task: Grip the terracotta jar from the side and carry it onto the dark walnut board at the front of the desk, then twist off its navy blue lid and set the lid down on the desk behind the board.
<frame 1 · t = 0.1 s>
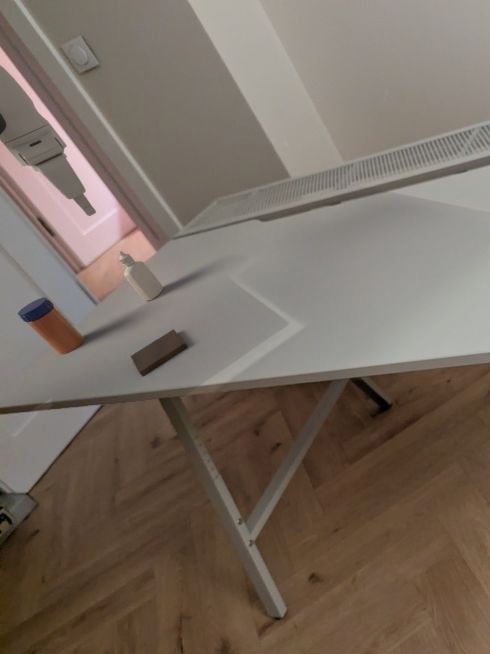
hand: (89, 211, 114), 22 cm above the table, tool pointing down, fingers open, 8 cm apart
board: (160, 353, 102), on the table
eye dropper bottle: (155, 295, 127), on the table
jar: (72, 345, 119), on the table
lid: (34, 307, 113), point 11 cm above the table, screwed on, not yet turned
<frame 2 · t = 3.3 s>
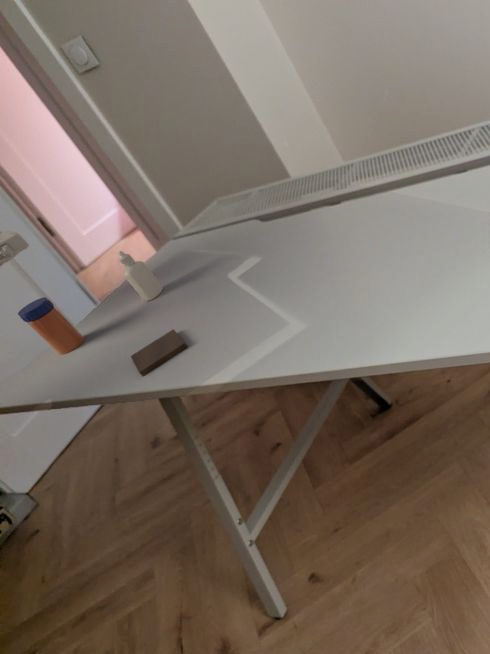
nothing on the table moved.
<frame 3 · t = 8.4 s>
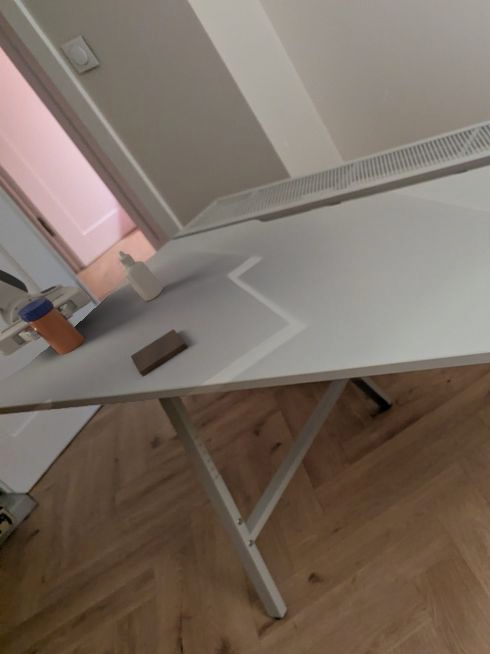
hand: (52, 325, 115), 6 cm above the table, tool horizontal, fingers closed on jar, 6 cm apart
jar: (72, 345, 119), on the table, touching gripper
everything else where it was.
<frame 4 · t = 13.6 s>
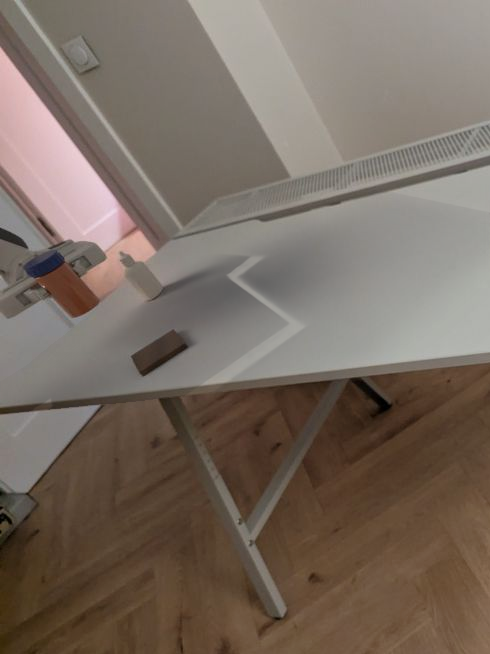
hand: (63, 282, 98), 17 cm above the table, tool horizontal, fingers closed on jar, 6 cm apart
jar: (85, 308, 102), point 11 cm above the table, touching gripper
lid: (41, 261, 96), point 21 cm above the table, screwed on, not yet turned
everything else where it was.
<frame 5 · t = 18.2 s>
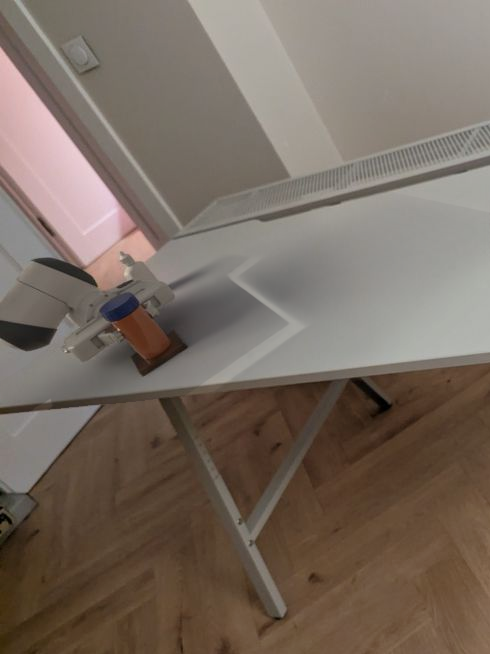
hand: (137, 325, 97), 7 cm above the table, tool horizontal, fingers closed on jar, 6 cm apart
jar: (156, 349, 102), point 1 cm above the table, touching board, gripper
lid: (117, 304, 95), point 12 cm above the table, screwed on, not yet turned
everything else where it was.
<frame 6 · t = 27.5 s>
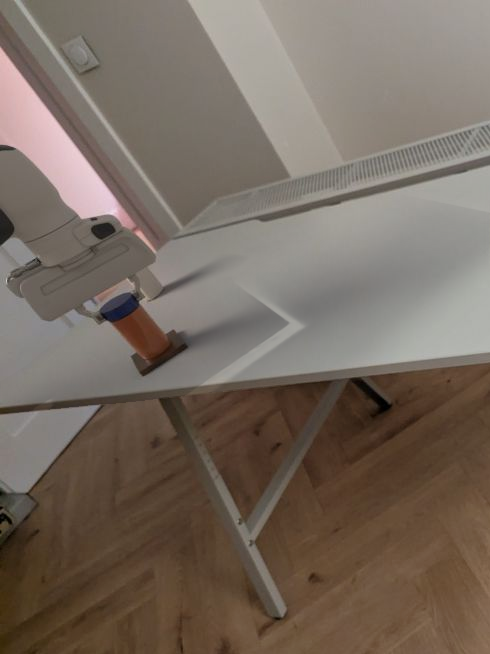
hand: (122, 310, 96), 10 cm above the table, tool pointing down, fingers closed on lid, 6 cm apart
jar: (156, 349, 102), point 1 cm above the table, touching board
lid: (117, 304, 95), point 12 cm above the table, screwed on, not yet turned, touching gripper
everything else where it was.
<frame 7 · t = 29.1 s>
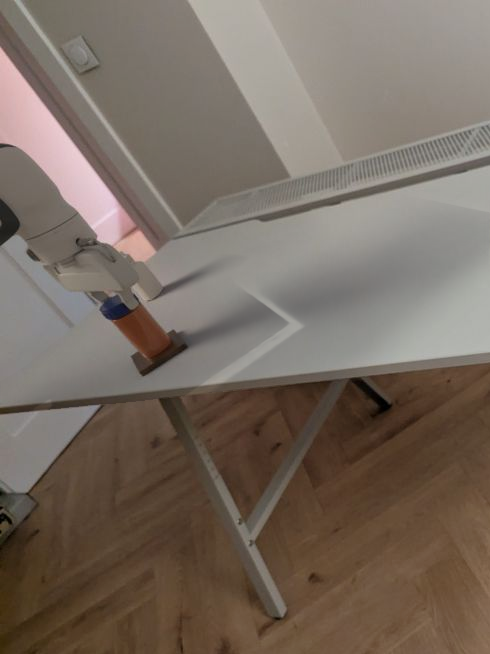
hand: (122, 307, 96), 11 cm above the table, tool pointing down, fingers closed on lid, 6 cm apart
lid: (117, 302, 96), point 12 cm above the table, off its thread, touching gripper
everything else where it was.
when the fingers open (0 cm above the table, at t = 37.8 s): lid stays where it is, point 1 cm above the table.
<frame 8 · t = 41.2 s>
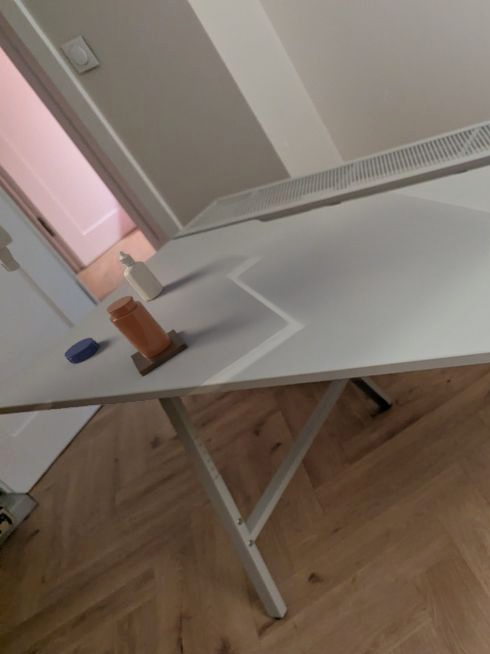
hand: (3, 270, 101), 21 cm above the table, tool pointing down, fingers open, 8 cm apart
lid: (80, 348, 112), point 1 cm above the table, off its thread
everything else where it was.
at the end: jar inside the target area on the board (0.8 cm from its centre), point 1.0 cm above the board's base; lid inside the target area (0.3 cm from its centre), point 1.5 cm above the table; the gripper is holding nothing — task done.
